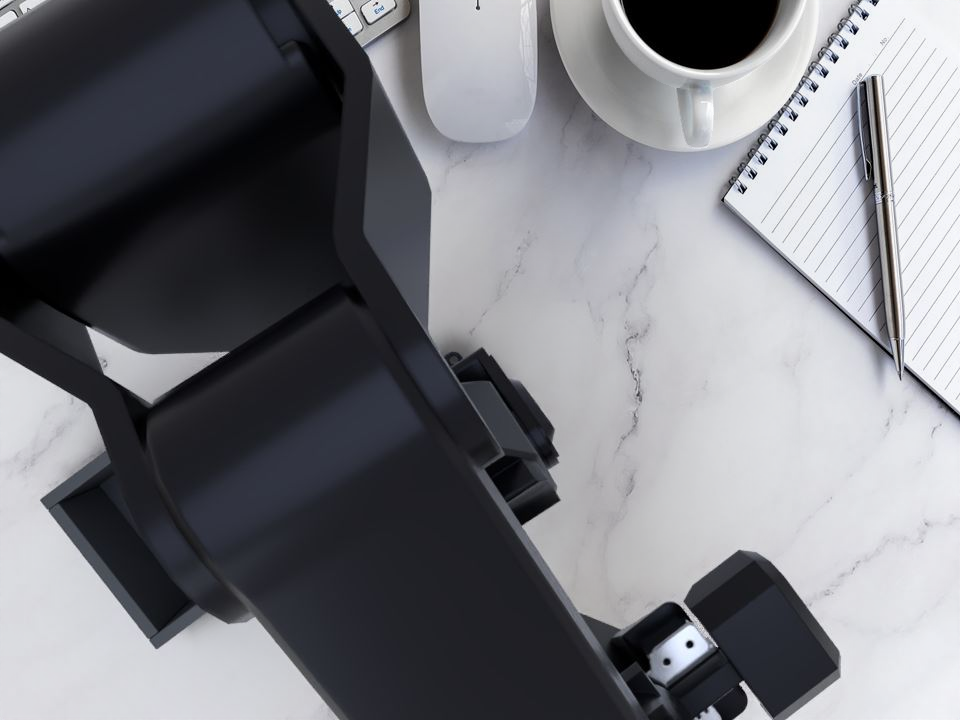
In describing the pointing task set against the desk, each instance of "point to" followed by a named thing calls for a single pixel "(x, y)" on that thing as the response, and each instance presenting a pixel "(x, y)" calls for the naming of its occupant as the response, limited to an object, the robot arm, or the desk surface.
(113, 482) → the waste bin
